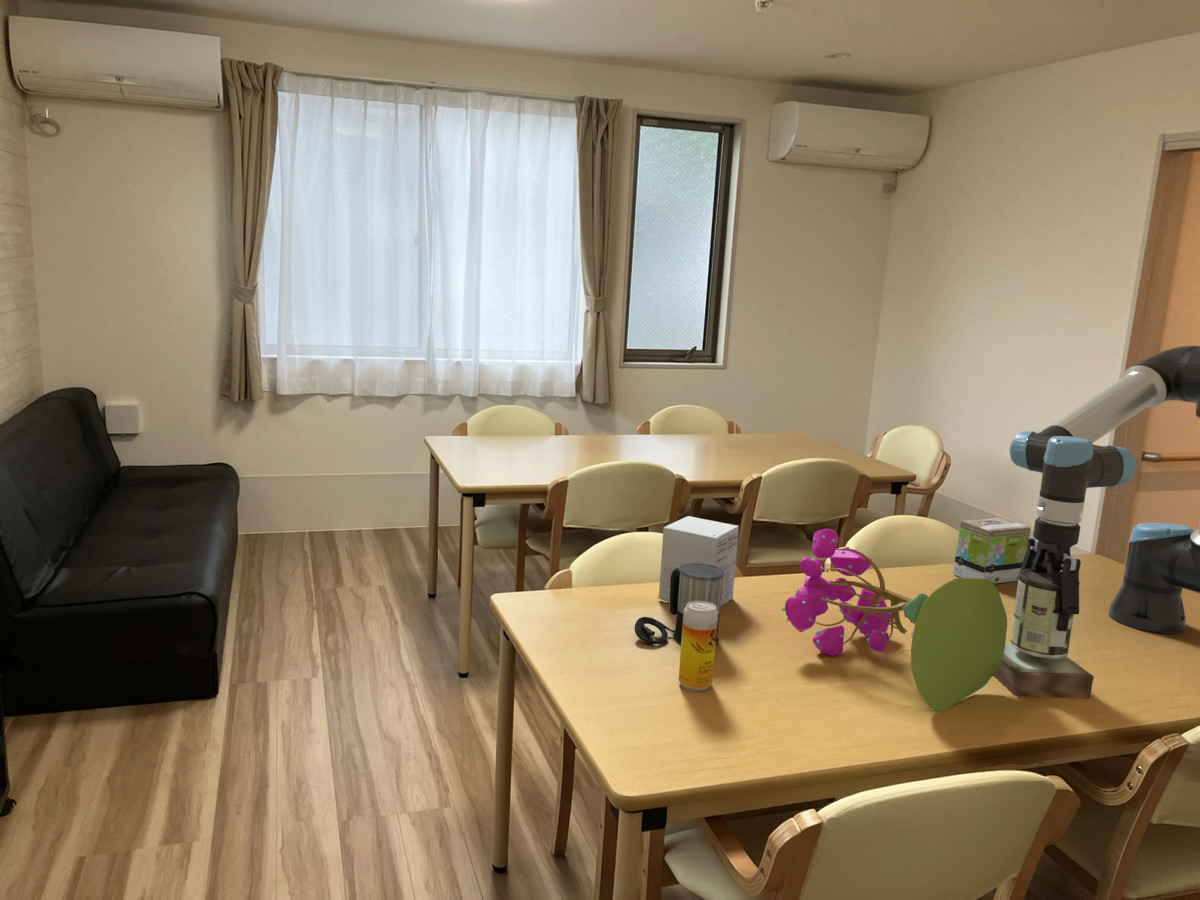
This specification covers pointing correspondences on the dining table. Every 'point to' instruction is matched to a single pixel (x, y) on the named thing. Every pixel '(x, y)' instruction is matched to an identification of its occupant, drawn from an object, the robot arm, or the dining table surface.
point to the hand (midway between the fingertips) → (1040, 634)
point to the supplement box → (699, 551)
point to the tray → (1042, 676)
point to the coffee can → (1036, 616)
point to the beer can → (698, 645)
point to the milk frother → (685, 598)
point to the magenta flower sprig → (942, 621)
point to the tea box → (991, 549)
